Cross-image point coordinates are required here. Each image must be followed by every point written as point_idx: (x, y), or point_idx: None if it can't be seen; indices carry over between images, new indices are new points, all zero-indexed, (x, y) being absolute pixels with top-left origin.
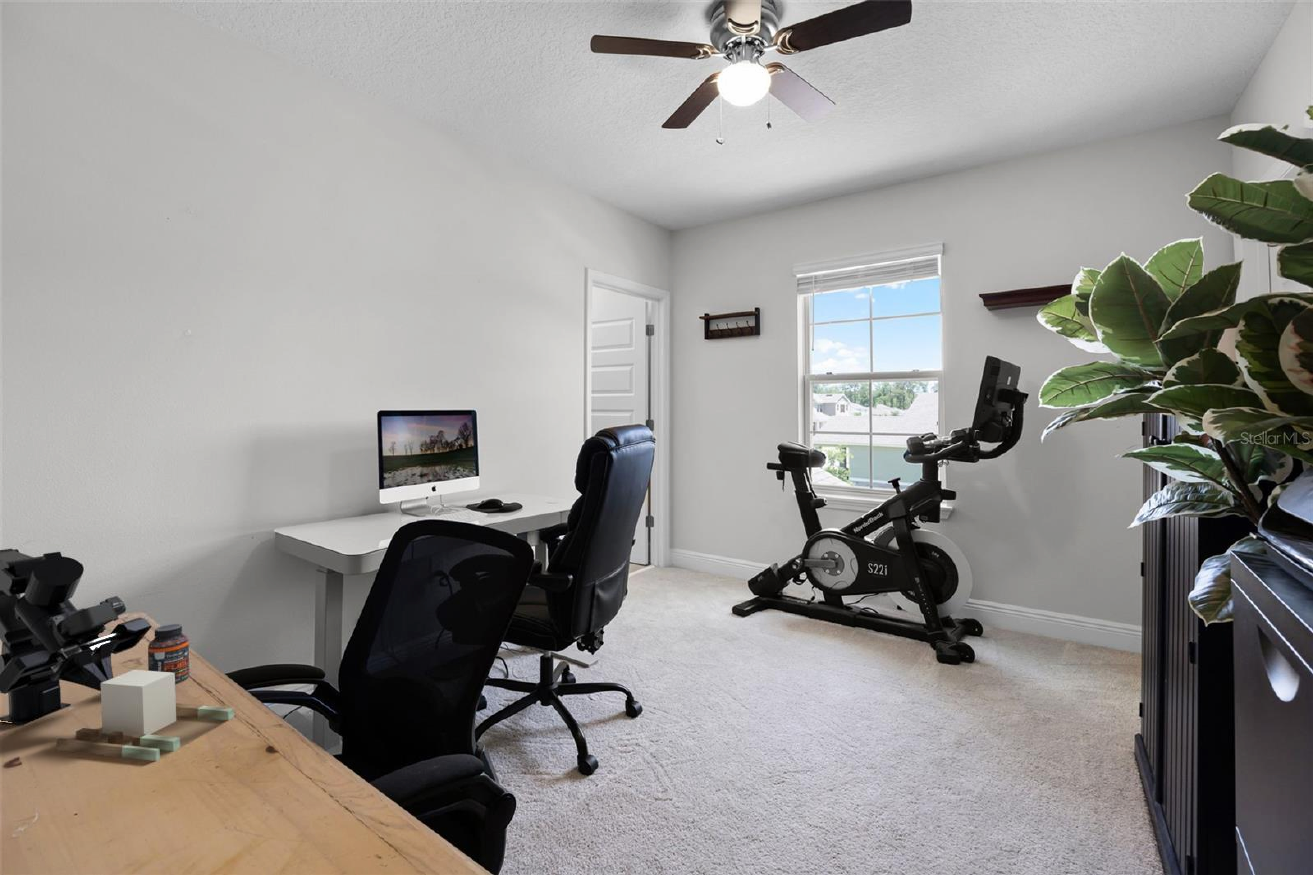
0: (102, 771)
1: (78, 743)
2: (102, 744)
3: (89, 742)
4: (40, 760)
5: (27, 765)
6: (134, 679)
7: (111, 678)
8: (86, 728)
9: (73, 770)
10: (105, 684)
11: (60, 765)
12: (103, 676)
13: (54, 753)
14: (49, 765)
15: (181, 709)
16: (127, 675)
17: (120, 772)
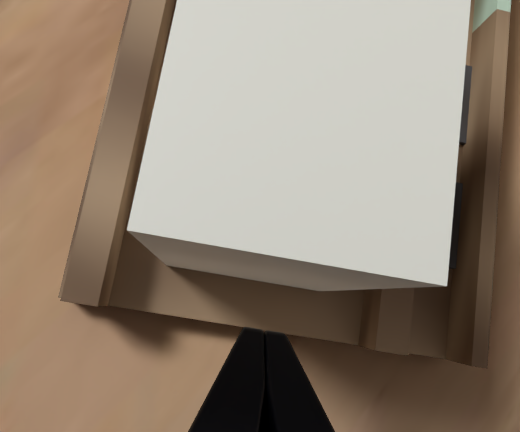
0: (511, 82)
1: (494, 233)
2: (500, 108)
3: (491, 182)
4: (470, 402)
5: (505, 417)
6: (362, 29)
7: (232, 384)
8: (380, 326)
9: (516, 191)
10: (446, 230)
11: (493, 275)
12: (290, 430)
13: (421, 398)
14: (497, 321)
15: (162, 28)
16: (278, 171)
17: (510, 17)
